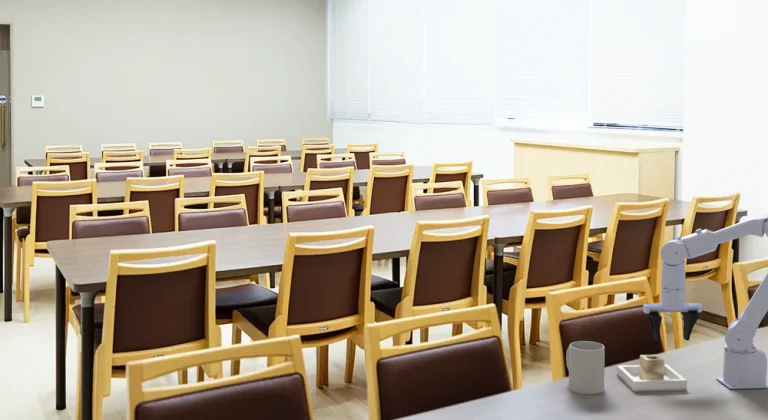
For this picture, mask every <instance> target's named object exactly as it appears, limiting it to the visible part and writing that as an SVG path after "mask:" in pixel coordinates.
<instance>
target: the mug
mask: <svg viewBox="0 0 768 420" xmlns="http://www.w3.org/2000/svg"><path fill="white" fill-rule="evenodd" d="M568 345H569V346H568V347H567V350H566V353H565V354H566V356H565V362H566V366H567V367H566V368H567V370H568V389H569V390H570V391H571V392H572V393H575V394H579V395H587V396H588V395H590V396H591V395H599V394H601V393H604V391H605V355H606V352H605V351H606V349H605V348H606V347H605V346H604V344H602V343H600V342H595V341H591V340H590V341H588V340H578V341H574V342H571V343H570V344H568Z"/></svg>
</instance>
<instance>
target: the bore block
mask: <svg viewBox="0 0 768 420" xmlns="http://www.w3.org/2000/svg"><path fill="white" fill-rule="evenodd" d="M664 364H665V359H664V358H663V357H661V356H660V355H659V354H640V355H639V365H640V374H639V378H640V379H641V380H664Z"/></svg>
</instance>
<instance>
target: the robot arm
mask: <svg viewBox="0 0 768 420" xmlns="http://www.w3.org/2000/svg"><path fill="white" fill-rule="evenodd" d="M751 235H752V236H754V237H755V236H756V237H760V238H763V237H764V236H765V235H766V237H767V238H768V213H766V214H761V215H758V216H754V217H750V218H748V219H745V220H743V221H740V222H737V223H735V224H732V225H729V226H727V227H724V228H721V229H718V230H716V231H711V230H709V229H707V228H705V229H702V228H698V229H695V232H693V233H690V234H688V235H684V236H682V235H680V236H677V238H676V239H672V240H671V239H670V240H669V241H668V242H666V243H665V244H664V245H663V246H662V247H661V249H660V258H661V259H662V263H661V265H662V266H661V268H662V269H661V276H660V277H661V279H660V280H661V281H660V283H661V285H660V302H656V303H654V302H653V303H646V304H645V303H644V304H643V305H642V312H643V313H644V314H645V315H646V317H647V318H648V319H647V320H648V321H649V324H650V326H651V329H652V334H653V340H655V342H660V338H661V324H662V319H663V317H662V316H661V315H660V313H682V319H683V320H682V321H683V330H682V331H683V332H682V333H683V334H682V336H683V339H684V340H685V341H690V338H691V335H692V332H693V329H694V327H695V325H696V323H697V322H698V320H699V318H700V313H702V312H703V304H701V303H699V302H685V296H686V269H685V267H686V260H685V259H693V258H697V257H700V256H703V255H706V254H709V253H710V254H711V253H712V252H716V250H717V248H718V245H719V244H723V243H726V242H729V241H733V240H737V239H740V238H743V237H746V236H751ZM767 312H768V272H766V274H765V275H764V278H762V281H761V282H760V284H759V285H758V287H757V289H755V292H754V293H753V295H752V296H751V298H750V300H749V301H748V303H747V304H746V306H745V308H744V309H743V310H742V312H741V314H740V315H739V316H738V317H737V318H736V319H734V320H732V321H730V323H729V325H728V328H727V330H726V332H725V335H724V342H725V344H724V345H723V366H722V367H723V369H722V370H723V372H722V376H717V377H716V380H717V381H718V382H719V383H721V384H723V385H724V386H725V387H727V388H728V389H730V390H741V389H742V390H743V389H747V390H748V389H767V388H768V385H767V369H768V363H767V362H768V360H767V355H766V352H765V351H764V350H763V349H762V348H756V346H755V345H754V343H753V342H754V337H755V336H756V331H757V330H758V328H759V326H760V325H761V324H760V323H761V322H762V321H763V319H764V317H765V315H766V314H767Z"/></svg>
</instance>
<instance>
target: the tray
mask: <svg viewBox="0 0 768 420" xmlns="http://www.w3.org/2000/svg"><path fill="white" fill-rule="evenodd" d="M639 374H640V364H633V365H629V364H628V365H617V366H616V376H617V377H618V378H619V379H620V380H621V381H622V382H623V383H625V385H626V386H627V387H628V388H630V390H631V391H633V392H635V393H637V392H638V393H639V392H670V391H677V392H679V391H687V389H688V387H687V386H688V385H687V384H688V380H687V379H686V378H685V377H684V376H683V375H681V374H680V373H678V372H677V371H676V370H675V369H673V368H672V367H671V366H669V365H668V364H665V363H664V380H641V379H640V378H639Z"/></svg>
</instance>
